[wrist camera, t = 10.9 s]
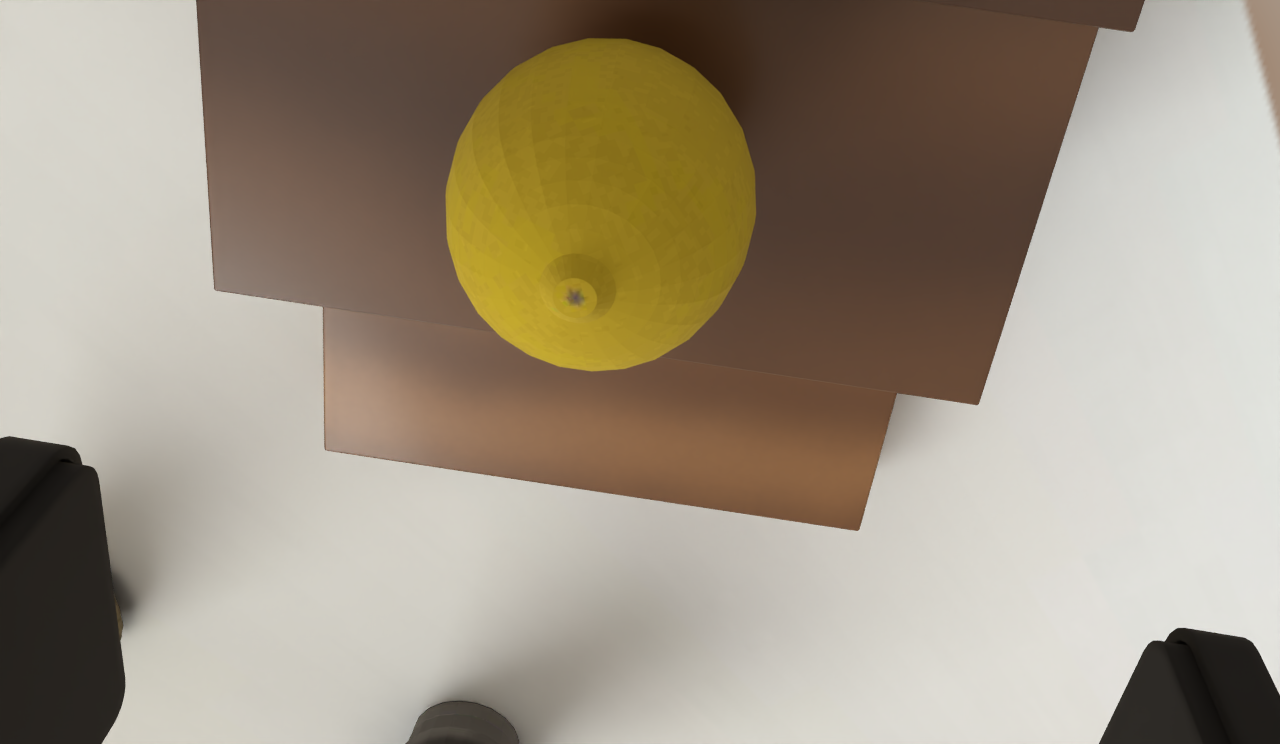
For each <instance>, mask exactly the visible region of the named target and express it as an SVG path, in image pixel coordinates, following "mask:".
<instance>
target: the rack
mask: <svg viewBox="0 0 1280 744" xmlns="http://www.w3.org/2000/svg"><path fill="white" fill-rule="evenodd" d="M1144 1H1145V0H196V5H197V21H198V37H199V53H200V69H201V85H202V101H203V117H204V133H205V149H206V164H207V180H208V196H209V212H210V228H211V244H212V260H213V276H214V289H215V290H216V291H223V292H229V293H236V294H243V295H249V296H256V297H262V298H269V299H276V300H282V301H289V302H296V303H302V304H309V305H316V306H322V307H323V357H324V447H325V450H327V451H333V452H340V453H346V454H353V455H359V456H366V457H373V458H379V459H386V460H392V461H399V462H406V463H412V464H419V465H425V466H432V467H439V468H445V469H452V470H458V471H465V472H472V473H478V474H485V475H491V476H498V477H505V478H511V479H518V480H524V481H531V482H538V483H544V484H551V485H557V486H564V487H571V488H577V489H584V490H591V491H597V492H604V493H610V494H617V495H624V496H630V497H637V498H643V499H650V500H657V501H663V502H670V503H676V504H683V505H690V506H696V507H703V508H709V509H716V510H723V511H729V512H736V513H742V514H749V515H756V516H762V517H769V518H775V519H782V520H789V521H795V522H802V523H808V524H815V525H822V526H828V527H835V528H841V529H848V530H855V531H858V530H859V529H860V526H861V522H862V519H863V515H864V511H865V508H866V504H867V500H868V497H869V493H870V490H871V486H872V482H873V479H874V475H875V471H876V468H877V464H878V461H879V457H880V453H881V450H882V446H883V443H884V439H885V435H886V432H887V428H888V424H889V421H890V417H891V414H892V410H893V406H894V403H895V399H896V395H897V393H900V394H907V395H914V396H920V397H927V398H934V399H940V400H947V401H953V402H960V403H967V404H973V405H978V404H979V402H980V399H981V396H982V392H983V389H984V386H985V383H986V380H987V377H988V374H989V371H990V367H991V364H992V361H993V358H994V355H995V352H996V349H997V345H998V342H999V339H1000V336H1001V333H1002V330H1003V327H1004V323H1005V320H1006V317H1007V314H1008V311H1009V308H1010V305H1011V302H1012V298H1013V295H1014V292H1015V289H1016V286H1017V283H1018V280H1019V276H1020V273H1021V270H1022V267H1023V264H1024V261H1025V258H1026V255H1027V251H1028V248H1029V245H1030V242H1031V239H1032V236H1033V233H1034V229H1035V226H1036V223H1037V220H1038V217H1039V214H1040V211H1041V207H1042V204H1043V201H1044V198H1045V195H1046V192H1047V189H1048V186H1049V182H1050V179H1051V176H1052V173H1053V170H1054V167H1055V164H1056V160H1057V157H1058V154H1059V151H1060V148H1061V145H1062V142H1063V139H1064V135H1065V132H1066V129H1067V126H1068V123H1069V120H1070V117H1071V113H1072V110H1073V107H1074V104H1075V101H1076V98H1077V95H1078V91H1079V88H1080V85H1081V82H1082V79H1083V76H1084V73H1085V70H1086V66H1087V63H1088V60H1089V57H1090V54H1091V51H1092V48H1093V44H1094V41H1095V38H1096V35H1097V32H1098V29H1099V28H1106V29H1113V30H1120V31H1126V32H1134V30H1135V28H1136V25H1137V22H1138V19H1139V16H1140V13H1141V10H1142V7H1143V4H1144ZM587 38H605V39H629V40H632V41H636V42H640V43H643V44H647V45H650V46H654V47H658V48H661V49H663V50H665V51H666V52H668V53H670V54H672V55H673V56H675V57H677V58H679V59H680V60H682V61H684V62H686V63H687V64H689V65H691V66H692V67H694V68H695V69H696V70H697V71H698V72H699V73H700V74H701V75H702V76H704V77H705V78H706V79H707V80H708V81H709V82H710V83H711V84H712V85H713V86H714V87H715V88H716V89H717V90H718V91H719V92H720V93H721V94H722V96H723V98H724V99H725V101H726V103H727V104H728V106H729V108H730V109H731V111H732V112H733V114H734V116H735V117H736V119H737V121H738V122H739V124H740V126H741V127H742V129H743V133H744V136H745V139H746V143H747V146H748V150H749V153H750V156H751V160H752V163H753V167H754V170H755V194H756V218H755V224H754V228H753V232H752V236H751V240H750V244H749V248H748V252H747V255H746V259H745V262H744V265H743V267H742V269H741V271H740V273H739V275H738V277H737V278H736V280H735V282H734V284H733V285H732V287H731V289H730V291H729V292H728V294H727V296H726V298H725V299H724V301H723V303H722V304H721V306H720V307H719V309H718V310H717V311H716V312H715V313H714V314H713V315H712V316H711V317H710V318H709V319H708V321H707V322H706V323H705V324H704V325H703V326H702V327H701V328H700V329H699V330H698V331H697V332H696V333H695V334H694V335H693V336H692V337H691V338H690V339H689V340H687V341H685V342H684V343H682V344H680V345H679V346H677V347H675V348H674V349H672V350H670V351H669V352H667V353H665V354H664V355H662V356H660V357H659V358H657V359H655V360H652V361H649V362H646V363H642V364H639V365H636V366H632V367H629V368H626V369H617V370H604V371H586V370H579V369H572V368H565V367H559V366H556V365H553V364H551V363H548V362H546V361H543V360H540V359H538V358H535V357H532V356H530V355H528V354H526V353H525V352H523V351H522V350H520V349H519V348H517V347H516V346H514V345H512V344H511V343H509V342H508V341H506V340H505V339H503V338H502V337H500V336H499V335H498V334H497V332H496V331H495V330H494V329H493V328H492V327H491V326H490V325H489V324H488V323H487V322H486V321H485V320H484V319H483V318H482V317H481V316H480V315H479V314H478V313H477V311H476V309H475V307H474V306H473V304H472V302H471V301H470V299H469V297H468V296H467V294H466V292H465V290H464V289H463V287H462V285H461V283H460V282H459V280H458V277H457V273H456V270H455V267H454V263H453V260H452V256H451V253H450V250H449V246H448V241H447V227H446V186H447V182H448V178H449V174H450V170H451V166H452V162H453V158H454V154H455V150H456V147H457V143H458V141H459V138H460V136H461V134H462V133H463V131H464V129H465V127H466V126H467V124H468V122H469V120H470V119H471V117H472V115H473V113H474V112H475V110H476V108H477V106H478V105H479V103H480V102H481V100H482V99H483V98H484V97H485V96H486V95H487V94H488V93H489V92H490V91H491V90H492V89H493V88H494V87H495V86H496V85H497V84H498V83H499V82H500V81H501V80H502V79H503V78H504V77H505V76H506V75H507V74H508V73H509V72H510V71H511V70H512V69H513V68H515V67H516V66H518V65H520V64H522V63H523V62H525V61H527V60H529V59H531V58H533V57H534V56H536V55H538V54H540V53H542V52H544V51H545V50H547V49H549V48H551V47H554V46H558V45H563V44H567V43H571V42H575V41H579V40H583V39H587Z"/></svg>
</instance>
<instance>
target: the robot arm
mask: <svg viewBox="0 0 1280 744" xmlns="http://www.w3.org/2000/svg"><path fill="white" fill-rule="evenodd" d="M124 693H125V673H124V666H123V658H122V651H121V643H120V635H119V628H118V620H117V613H116V605H115V598H114V590H113V583H112V575H111V568H110V560H109V552H108V545H107V537H106V530H105V522H104V515H103V507H102V500H101V492H100V485H99V479H98V475H97V472H96V471H95V469H94V468H93V467H90V466H86V465H82V462H81V458H80V455H79V453H78V452H77V451H76V449H75V448H72V447H70V446H66V445H59V444H53V443H47V442H41V441H35V440H29V439H23V438H17V437H10V436H8V437H4V438H0V744H102V742H103V740H104V739H105V737H106V736H107V734H108V732H109V731H110V729H111V727H112V726H113V724H114V722H115V720H116V718H117V716H118V714H119V711H120V709H121V706H122V702H123V698H124ZM1099 744H1280V695H1279V693H1278V691H1277V689H1276V687H1275V685H1274V683H1273V680H1272V678H1271V676H1270V674H1269V672H1268V670H1267V668H1266V666H1265V664H1264V662H1263V660H1262V658H1261V656H1260V654H1259V652H1258V650H1257V649H1256V647H1255V646H1254V644H1253V643H1252V642H1251V641H1249V640H1247V639H1246V638H1243V637H1236V636H1230V635H1224V634H1218V633H1212V632H1206V631H1200V630H1194V629H1187V628H1177V629H1175V630H1174V631H1173V632H1171V633H1170V634H1169V636H1168V637H1167V639H1166V641H1165V642H1163V641H1152V642H1151V643H1149V644H1148V645H1147V647H1146V648H1145V650H1144V651H1143V654H1142V656H1141V658H1140V660H1139V662H1138V664H1137V666H1136V668H1135V670H1134V672H1133V674H1132V676H1131V678H1130V680H1129V683H1128V685H1127V687H1126V689H1125V691H1124V693H1123V695H1122V697H1121V699H1120V701H1119V703H1118V705H1117V707H1116V709H1115V712H1114V714H1113V716H1112V718H1111V720H1110V722H1109V724H1108V726H1107V728H1106V730H1105V732H1104V734H1103V736H1102V738H1101V740H1100V743H1099Z"/></svg>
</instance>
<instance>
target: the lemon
mask: <svg viewBox="0 0 1280 744" xmlns="http://www.w3.org/2000/svg"><path fill="white" fill-rule="evenodd" d="M755 218H756V194H755V170H754V167H753V163H752V160H751V156H750V153H749V150H748V146H747V143H746V139H745V136H744V133H743V129H742V127H741V126H740V124H739V122H738V121H737V119H736V117H735V116H734V114H733V112H732V111H731V109H730V108H729V106H728V104H727V103H726V101H725V99H724V98H723V96H722V94H721V93H720V92H719V91H718V90H717V89H716V88H715V87H714V86H713V85H712V84H711V83H710V82H709V81H708V80H707V79H706V78H705V77H704V76H702V75H701V74H700V73H699V72H698V71H697V70H696V69H695V68H694V67H692V66H691V65H689V64H687V63H686V62H684V61H682V60H680V59H679V58H677V57H675V56H673V55H672V54H670V53H668V52H666V51H665V50H663V49H661V48H658V47H654V46H650V45H647V44H643V43H640V42H636V41H632V40H629V39H605V38H587V39H583V40H579V41H575V42H571V43H567V44H563V45H558V46H554V47H551V48H549V49H547V50H545V51H544V52H542V53H540V54H538V55H536V56H534V57H533V58H531V59H529V60H527V61H525V62H523V63H522V64H520V65H518V66H516V67H515V68H513V69H512V70H511V71H510V72H509V73H508V74H507V75H506V76H505V77H504V78H503V79H502V80H501V81H500V82H499V83H498V84H497V85H496V86H495V87H494V88H493V89H492V90H491V91H490V92H489V93H488V94H487V95H486V96H485V97H484V98H483V99H482V100H481V102H480V103H479V105H478V106H477V108H476V110H475V112H474V113H473V115H472V117H471V119H470V120H469V122H468V124H467V126H466V127H465V129H464V131H463V133H462V134H461V136H460V138H459V141H458V143H457V147H456V150H455V154H454V158H453V162H452V166H451V170H450V174H449V178H448V182H447V186H446V227H447V241H448V246H449V250H450V253H451V256H452V260H453V263H454V267H455V270H456V273H457V277H458V280H459V282H460V283H461V285H462V287H463V289H464V290H465V292H466V294H467V296H468V297H469V299H470V301H471V302H472V304H473V306H474V307H475V309H476V311H477V313H478V314H479V315H480V316H481V317H482V318H483V319H484V320H485V321H486V322H487V323H488V324H489V325H490V326H491V327H492V328H493V329H494V330H495V331H496V332H497V334H498V335H499V336H500V337H502V338H503V339H505V340H506V341H508V342H509V343H511V344H512V345H514V346H516V347H517V348H519V349H520V350H522V351H523V352H525V353H526V354H528V355H530V356H532V357H535V358H538V359H540V360H543V361H546V362H548V363H551V364H553V365H556V366H559V367H565V368H572V369H579V370H586V371H604V370H617V369H626V368H629V367H632V366H636V365H639V364H642V363H646V362H649V361H652V360H655V359H657V358H659V357H660V356H662V355H664V354H665V353H667V352H669V351H670V350H672V349H674V348H675V347H677V346H679V345H680V344H682V343H684V342H685V341H687V340H689V339H690V338H691V337H692V336H693V335H694V334H695V333H696V332H697V331H698V330H699V329H700V328H701V327H702V326H703V325H704V324H705V323H706V322H707V321H708V319H709V318H710V317H711V316H712V315H713V314H714V313H715V312H716V311H717V310H718V309H719V307H720V306H721V304H722V303H723V301H724V299H725V298H726V296H727V294H728V292H729V291H730V289H731V287H732V285H733V284H734V282H735V280H736V278H737V277H738V275H739V273H740V271H741V269H742V267H743V265H744V262H745V259H746V255H747V252H748V248H749V244H750V240H751V236H752V232H753V228H754V224H755Z"/></svg>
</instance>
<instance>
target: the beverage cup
mask: <svg viewBox="0 0 1280 744" xmlns="http://www.w3.org/2000/svg"><path fill="white" fill-rule="evenodd" d="M406 744H519V740H518V737H517V734H516V732H515V729H514V728H513V727H512V726H511V724H510V723H509V722H508V721H507V720H506V719H505V718H504V717H503V716H501V715H500V714H498V713H497V712H495V711H494V710H492V709H490V708H487V707H484V706H482V705H479V704H476V703H469V702H461V701H457V702H447V703H441V704H439V705H436V706H434V707H431V708H429V709H428V710H427V711H426V712H424V713H423V714H422V715H421V716H420V717H419V718H418V721H417V723H416V725H415V727H414V730H413V732H412V735H411V737H410V739H409V741H408V742H407V743H406Z"/></svg>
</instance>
